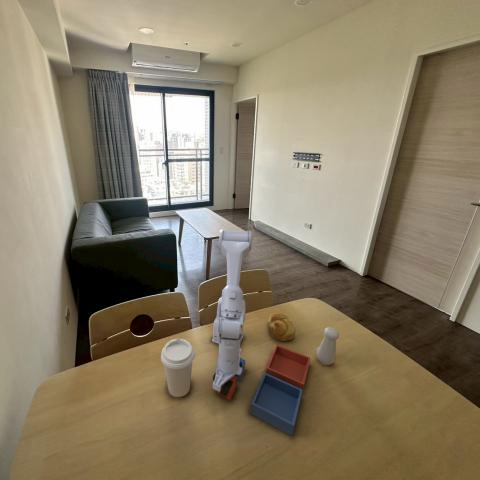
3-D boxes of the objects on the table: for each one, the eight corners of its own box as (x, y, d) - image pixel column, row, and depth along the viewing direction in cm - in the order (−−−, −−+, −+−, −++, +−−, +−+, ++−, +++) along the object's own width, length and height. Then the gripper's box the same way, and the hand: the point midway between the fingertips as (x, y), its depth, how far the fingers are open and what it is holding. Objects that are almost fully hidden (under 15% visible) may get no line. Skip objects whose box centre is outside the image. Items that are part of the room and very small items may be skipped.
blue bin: (250, 413, 69) (251, 403, 67) (263, 381, 78) (264, 372, 76) (292, 436, 64) (294, 426, 62) (300, 399, 73) (302, 389, 71)
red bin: (265, 377, 79) (266, 368, 78) (274, 352, 88) (276, 344, 87) (301, 394, 74) (304, 384, 73) (308, 366, 83) (310, 357, 82)
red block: (217, 393, 74) (218, 381, 72) (223, 382, 77) (224, 371, 75) (230, 400, 72) (230, 387, 70) (235, 388, 75) (236, 377, 73)
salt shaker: (330, 354, 88) (338, 325, 83) (336, 368, 82) (345, 337, 78) (313, 353, 88) (320, 323, 83) (318, 366, 83) (326, 336, 78)
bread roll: (263, 320, 104) (265, 304, 101) (286, 320, 104) (288, 304, 101) (271, 344, 92) (274, 327, 89) (297, 343, 92) (301, 326, 89)
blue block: (227, 375, 80) (228, 363, 78) (233, 366, 83) (233, 355, 81) (239, 381, 78) (240, 369, 76) (244, 371, 81) (245, 360, 79)
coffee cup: (199, 378, 78) (199, 341, 73) (187, 407, 70) (186, 367, 64) (172, 369, 81) (170, 333, 76) (157, 396, 73) (153, 357, 67)
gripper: (231, 380, 61) (228, 416, 66) (252, 341, 73) (248, 375, 78) (206, 367, 64) (205, 403, 70) (230, 332, 76) (228, 365, 81)
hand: (226, 387), depth 74 cm, fingers closed on red block, 4 cm apart
